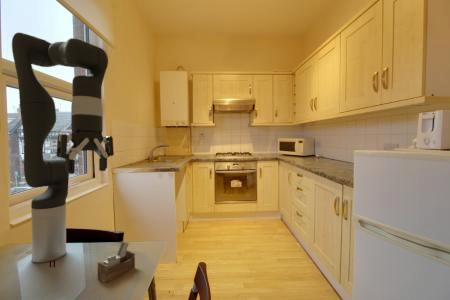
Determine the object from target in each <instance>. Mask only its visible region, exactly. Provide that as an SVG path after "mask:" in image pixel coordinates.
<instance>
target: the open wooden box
mask: <svg viewBox="0 0 450 300" xmlns="http://www.w3.org/2000/svg"><path fill="white" fill-rule="evenodd" d="M135 268H136V253H135V252H134V251H130V250H129V249H127V250H126V253H125V256H124V257H120V264H119V265H117V266H115V267H113V268H111V269H108V265H106V264H104V262H101V261H98V262H97V279H98V280H100V281H102V282H104V283H108V282H110V281H112V280H115V279H116V278H118V277H120V276H122V275H124V274H125V273H128V272H129V271H131V270H132V269H135Z"/></svg>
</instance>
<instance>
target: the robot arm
mask: <svg viewBox="0 0 450 300" xmlns="http://www.w3.org/2000/svg"><path fill="white" fill-rule="evenodd" d="M11 50H12V56H13V62H14V65H15V66H14V67H15V71H16V76H17V84H18V85H17V86H18V94H19V109H20V111H19V112H20V116H21V117H20V118H21V122H22V123H21V124H22V133H23V135H22V137H23V174H24V175H23V176H24V179H25V182H26V184H27V185H28V186H29V187H30V188H33V189H34V188H43V187H47V188H46V190H45V191H44V192H42V193H41V194H39V195H36V196H35V197H33V199H32V200H31V205H30V206H31V207H30V208H31V262H33V263H46V262H51V261H54V260H55V261H56V260H57V259H60V258H62V257H63V256H65V254H66V253H67V209H66V208H67V203H66V202H67V197H68V194H69V179H70V175H72V174H73V175H74V174H75V173H76V169H75V167H76V166H75V163H76V162H75V157H76V156H77V155H78V154H79V153H80V152H81V151H82V152H83V151H86V152H87V151H90V152H92V151H93V152H95V153H96V154H97V155H98V157H99V159H98V163H99V164H98V171H100V172H105V171H106V170H107V169H108V158H109V157H113V156H114V154H115V153H114V152H115V151H114V139H113V138H114V137H113V136H112V135H110V136H109V135H108V136H103V131H104V130H103V127H104V126H103V121H104V120H103V119H104V117H103V112H104V111H103V103H102V102H103V101H102V86H103V81H104V78H105V76H106V75H105V74H106V72H107V68H108V65H109V58H108V57H109V56H108V54H107V52H106V51H105V50H104V49H103V48H102V47H99V46H97V45H95V44H91V43H90V42H87V41H84V40H82V39H80V38H79V39H78V38H73V37H72V38H68V39H67V40H66V41H55V42H53V43H51V42H50V41H47V40H46V39H43V38H40V37H37V36H34V35H30V34H27V33H25V32H24V33H23V32H16V33H14V34H13V36H12V40H11ZM33 66H37V67H42V68H51V67H56V66H62V67H69V68H80V69H84V70H88V71H89V73H88V75H77V76H74V77H73V78H72V86H71V87H72V88H71V89H72V90H71V93H72V94H71V95H72V101H71V105H70V106H71V112H70V113H71V114H70V115H71V117H70V122H71V123H70V124H71V134H64V133H61V134H60V133H59V134H58V135H57V142H56V143H57V145H56V157H55V158H44V144H45V141H46V140H47V138H48V136H49V134H51V131H52V130H53V128H54V126H55V125H56V122H57V112H56V103H55V101H54V99H53V97H52V96H51V94H50V93H49V91H48V90H47V89H46V88H45V87H44V85H43V84H42V83H41V82H40V80H39V79H38V77H37V75H36V74H35V72H34V68H33ZM70 141H71V143H73V144H72V145H71V146H70V148H69V149H68V143H70ZM102 143H103V144H104V147H103V145H102Z"/></svg>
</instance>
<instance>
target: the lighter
mask: <svg viewBox="0 0 450 300" xmlns="http://www.w3.org/2000/svg"><path fill="white" fill-rule="evenodd" d="M129 245H130V243H129V242H128V241H123V240H122V241H121V243H120V246H119V248H118V251H117V253H116V254H111V255H109V256H108V257H107V259H106V260H104V261H103V263H104V264H106V265H108V269H111V268H113V267H115V266H117V265H119V264H120V257H124V256H125V253H126V250H128V247H129Z"/></svg>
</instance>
